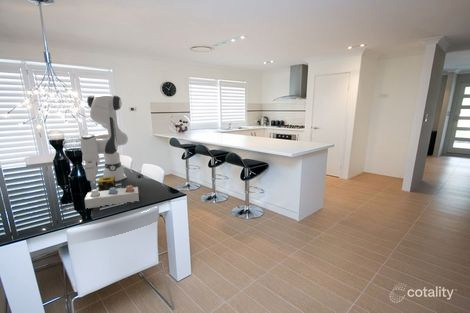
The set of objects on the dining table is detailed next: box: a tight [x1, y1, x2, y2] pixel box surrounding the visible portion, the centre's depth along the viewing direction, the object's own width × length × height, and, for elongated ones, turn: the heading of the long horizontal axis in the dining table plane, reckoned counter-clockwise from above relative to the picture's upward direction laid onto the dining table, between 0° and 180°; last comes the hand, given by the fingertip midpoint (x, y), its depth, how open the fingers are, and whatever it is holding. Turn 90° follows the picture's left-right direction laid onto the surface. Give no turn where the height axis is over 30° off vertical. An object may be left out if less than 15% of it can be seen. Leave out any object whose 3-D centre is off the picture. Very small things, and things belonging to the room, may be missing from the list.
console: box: [84, 186, 140, 210], centre depth 152 cm, size 12×30×6 cm, turn 114°
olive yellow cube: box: [97, 176, 117, 191], centre depth 167 cm, size 10×10×10 cm
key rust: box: [125, 184, 134, 192], centre depth 155 cm, size 4×4×5 cm
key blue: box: [109, 187, 117, 194], centre depth 151 cm, size 4×4×5 cm
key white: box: [90, 188, 99, 197], centre depth 147 cm, size 4×4×5 cm
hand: (94, 183), depth 145 cm, fingers closed
